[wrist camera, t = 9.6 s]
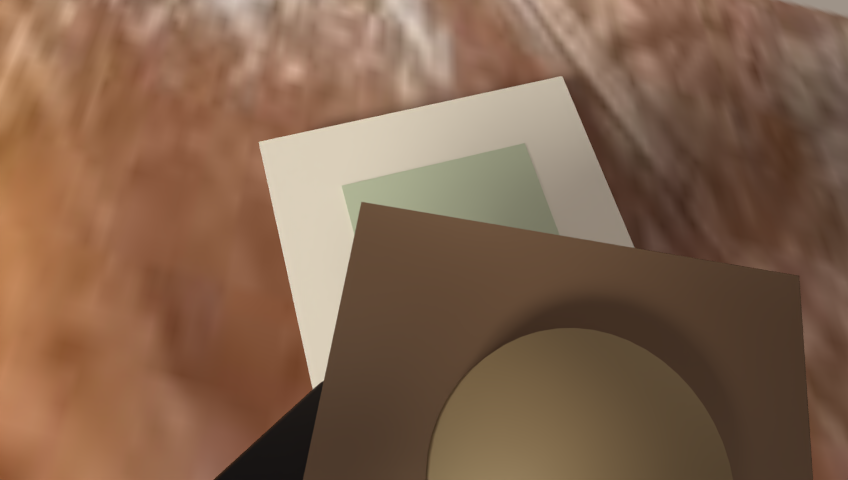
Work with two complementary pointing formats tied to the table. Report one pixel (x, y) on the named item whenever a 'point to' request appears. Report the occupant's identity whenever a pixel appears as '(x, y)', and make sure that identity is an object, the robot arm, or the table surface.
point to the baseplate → (432, 184)
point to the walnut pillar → (555, 361)
